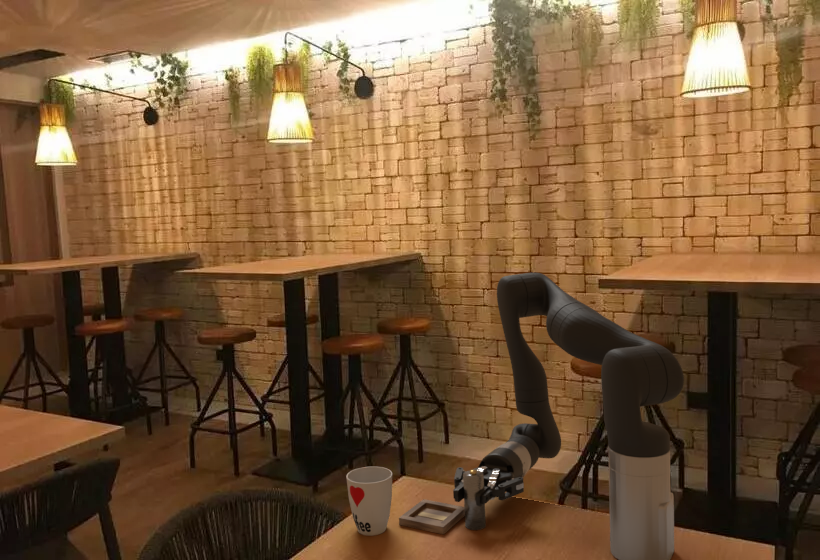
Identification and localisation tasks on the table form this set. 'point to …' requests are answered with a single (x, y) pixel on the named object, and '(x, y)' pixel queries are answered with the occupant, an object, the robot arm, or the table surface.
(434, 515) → the bay
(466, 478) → the cell
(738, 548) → the table surface
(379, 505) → the cup
